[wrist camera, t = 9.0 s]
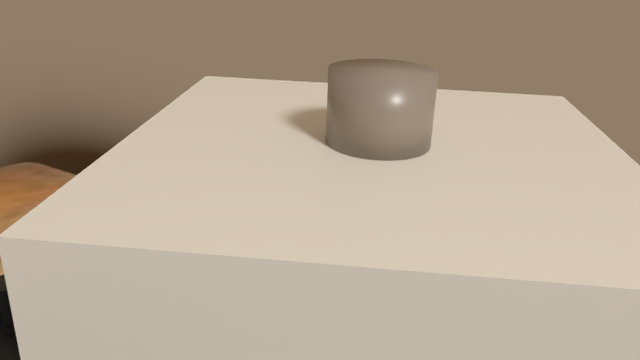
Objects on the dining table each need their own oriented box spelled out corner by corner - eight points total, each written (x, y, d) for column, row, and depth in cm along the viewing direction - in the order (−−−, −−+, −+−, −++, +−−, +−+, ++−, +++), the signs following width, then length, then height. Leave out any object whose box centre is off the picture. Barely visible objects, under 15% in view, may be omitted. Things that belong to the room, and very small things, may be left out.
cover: (96, 753, 12) (-24, 130, 7) (219, 409, 21) (203, 23, 16) (583, 829, 11) (836, 187, 6) (496, 438, 20) (572, 41, 15)
